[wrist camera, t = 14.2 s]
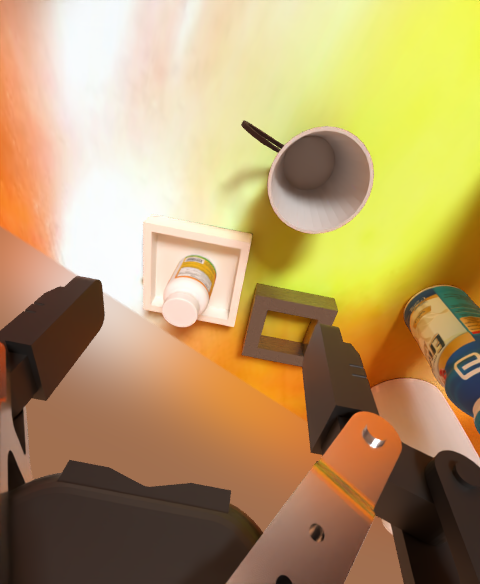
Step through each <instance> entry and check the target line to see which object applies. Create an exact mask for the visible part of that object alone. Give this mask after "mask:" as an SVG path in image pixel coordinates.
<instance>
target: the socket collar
mask: <svg viewBox="0 0 480 584" xmlns="http://www.w3.org/2000/svg"><path fill="white" fill-rule="evenodd" d="M268 310H270V311H276V312H281V313H286V314H291V315H296V316H301V317H306V318H311V322H310V325H309V327H308V330H307V333H306V335H305V338H304V341H303V343H299V342H294V341H289V340H283V339H278V338H273V337H268V336H263V335H261V333H262V329H263V325H264V322H265V318H266V314H267V311H268ZM337 312H338V309H337V306H336V302H335V299H334V298H329V297H324V296H319V295H314V294H309V293H304V292H299V291H294V290H288V289H283V288H278V287H273V286H268V285H263V284H258V283H257V286H256V290H255V294H254V299H253V303H252V307H251V312H250V316H249V320H248V324H247V329H246V333H245V337H244V341H243V349H242V355H244V356H250V357H255V358H260V359H265V360H270V361H275V362H281V363H286V364H291V365H296V366H301V367H302V366H303V358H304V354H305V351H306V349H307V346H308V344H309V341H310V339H311V336H312V333H313V331H314V328H315V326H316V324H318V323H319V324H324V325H330V326H332V324H333V322H334V319H335V317H336V315H337Z"/></svg>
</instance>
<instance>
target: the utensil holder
mask: <svg viewBox="0 0 480 584" xmlns="http://www.w3.org/2000/svg"><path fill="white" fill-rule="evenodd" d="M371 391H372V394H373V397H374V400H375V403H376V406H377V409H378V412H379V415H380V417H382V418H384V419H385V420H386V421H388V422H389V423H390V424H391V425H392V426H393V428H394V429H395V430H396V432H397V433H398V435H399V437H400V440H401V441H402V442H403V443H405V444H407V445H408V446H411V447H413V448H415V449H417V450H419V451H421V452H423V453H425V454H427V455H429V456H431V457H433V458H434V457H435V456H436V455H437V454H438V453H439V452H440V451H443V450H451V451H455V452H458V453H460V454H462V455H464V456H466V457H468V458H469V459H470V460H472V461H473V462H474V463H476V464H477V465H478V466H479V467H480V458H479V456H478V454H477V453H476V451H475V449H474V448H473V446H472V444H471V442H470V440H469V438H468V437H467V435H466V433H465V431H464V430H463V428H462V426H461V424H460V423H459V421H458V419H457V417H456V416H455V414H454V412H453V411H452V409H451V407H450V406H449V404H448V403H447V401H446V399H445V398H444V396H443V395H442V393H441V392H440V391H439V389H438V388H437V387H435V386H434V385H432V384H431V383H428V382H426V381H423V380H419V379H412V378H400V379H393V380H389V381H385V382H383V383H380V384H378V385H376V386H374V387H372V388H371ZM381 520H382V523H383V525H384V527H385V528H386V529H387V530H388V531H389V532H390V533H391V534H392V535H393V532H392V528H391V524H390V523H389V522H387V521H385V520H383V519H381Z"/></svg>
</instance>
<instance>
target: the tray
mask: <svg viewBox="0 0 480 584" xmlns="http://www.w3.org/2000/svg"><path fill="white" fill-rule="evenodd" d="M251 240H252V234H250V233H245V232H240V231H235V230H230V229H225V228H220V227H215V226H210V225H205V224H200V223H195V222H190V221H184V220H179V219H174V218H169V217H164V216H159V215H154V214H151V215H150V216H149V217H148V218H147V219H146V220H145V221H144V222H143V309H144V310H149V311H154V312H159V313H162V306H163V304H164V299H163V293H164V290H165V287H166V285H167V283H168V282H169V280H170V278H171V276H172V274H173V273H174V271H175V269H176V267H177V265H178V264H179V262H180V261H181V259H182V258H184V257H185V256H187V255H190V254H199V255H203V256H205V257H207V258H208V259H210V260H211V261H212V262H213V264H214V266H215V268H216V272H217V276H216V280H215V284H214V287H213V290H212V294H211V297H210V300H209V303H208V306H207V308H206V310H205V311H204V312H203V313H202V314H201V315H199V316H198V317H197V320H200V321H206V322H211V323H216V324H221V325H226V326H231V327H234V324H235V319H236V314H237V309H238V304H239V300H240V295H241V290H242V285H243V280H244V275H245V270H246V265H247V261H248V256H249V251H250V246H251Z"/></svg>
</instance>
